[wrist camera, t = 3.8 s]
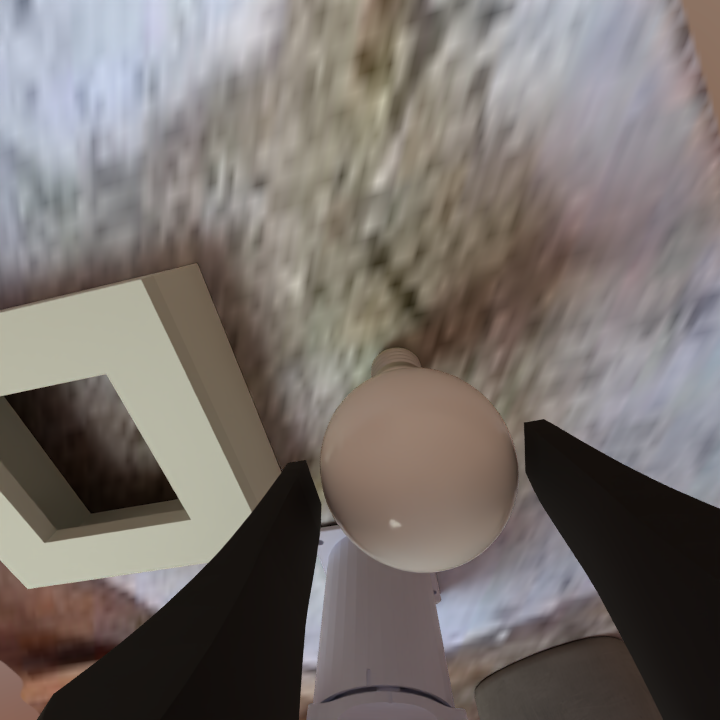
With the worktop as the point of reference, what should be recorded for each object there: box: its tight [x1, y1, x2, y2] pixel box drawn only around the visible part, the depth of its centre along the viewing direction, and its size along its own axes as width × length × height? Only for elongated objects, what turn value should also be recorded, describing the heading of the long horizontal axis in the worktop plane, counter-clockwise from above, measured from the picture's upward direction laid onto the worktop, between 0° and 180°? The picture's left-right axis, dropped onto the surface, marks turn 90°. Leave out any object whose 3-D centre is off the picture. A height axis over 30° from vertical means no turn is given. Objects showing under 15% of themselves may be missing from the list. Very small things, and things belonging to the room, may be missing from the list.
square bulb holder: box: [0, 263, 281, 589], centre depth 18 cm, size 15×15×4 cm
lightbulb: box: [320, 347, 519, 573], centre depth 13 cm, size 6×6×11 cm
